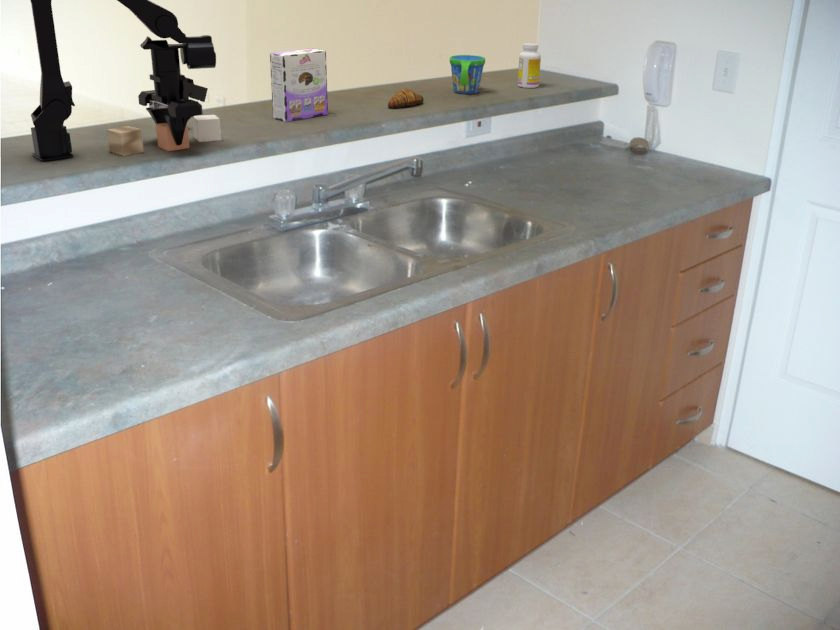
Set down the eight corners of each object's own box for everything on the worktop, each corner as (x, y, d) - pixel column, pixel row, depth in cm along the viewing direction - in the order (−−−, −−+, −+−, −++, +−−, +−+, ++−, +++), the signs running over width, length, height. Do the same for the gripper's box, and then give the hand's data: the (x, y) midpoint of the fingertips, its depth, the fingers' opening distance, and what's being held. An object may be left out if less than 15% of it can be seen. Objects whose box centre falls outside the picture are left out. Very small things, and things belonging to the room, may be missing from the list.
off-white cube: (199, 142, 200) (197, 120, 198) (194, 137, 204) (192, 116, 202) (221, 140, 202) (219, 118, 200) (215, 135, 206) (214, 114, 204)
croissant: (412, 101, 251) (413, 83, 249) (430, 105, 247) (431, 87, 245) (379, 108, 242) (380, 89, 240) (398, 111, 238) (398, 93, 235)
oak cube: (123, 156, 187) (120, 133, 185) (110, 152, 190) (107, 129, 188) (143, 152, 191) (141, 129, 189) (130, 148, 194) (127, 125, 192)
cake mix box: (314, 111, 234) (312, 47, 227) (328, 115, 230) (327, 50, 223) (271, 118, 225) (268, 51, 218) (285, 122, 221) (282, 54, 214)
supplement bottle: (542, 86, 277) (545, 44, 271) (533, 89, 271) (536, 46, 266) (523, 84, 280) (525, 42, 275) (513, 87, 275) (516, 44, 269)
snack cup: (478, 98, 256) (480, 62, 252) (443, 95, 259) (444, 60, 255) (488, 89, 270) (489, 54, 266) (454, 87, 273) (455, 53, 268)
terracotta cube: (168, 151, 192) (166, 128, 190) (158, 146, 195) (155, 124, 193) (189, 147, 195) (187, 125, 193) (178, 143, 198) (176, 121, 196)
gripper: (222, 72, 187) (227, 145, 193) (180, 61, 200) (186, 130, 206) (173, 77, 180) (180, 152, 187) (133, 65, 193) (141, 136, 199)
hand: (173, 142), depth 195 cm, fingers closed on terracotta cube, 5 cm apart
